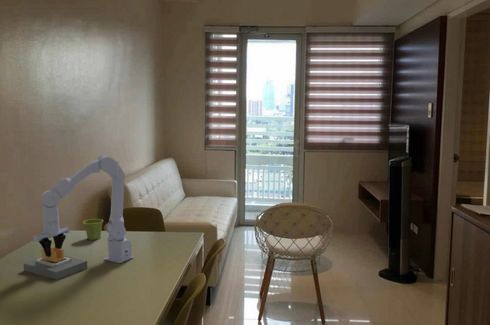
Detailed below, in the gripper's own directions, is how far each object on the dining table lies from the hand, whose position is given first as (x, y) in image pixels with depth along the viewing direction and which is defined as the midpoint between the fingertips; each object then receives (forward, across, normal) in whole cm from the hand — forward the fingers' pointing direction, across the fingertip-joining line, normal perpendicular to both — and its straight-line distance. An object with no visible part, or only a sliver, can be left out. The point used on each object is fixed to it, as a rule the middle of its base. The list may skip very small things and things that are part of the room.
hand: (53, 254), depth 173 cm
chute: (+2, 0, 0) cm, 2 cm away
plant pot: (+6, -37, -20) cm, 42 cm away
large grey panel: (+6, 0, +1) cm, 6 cm away
